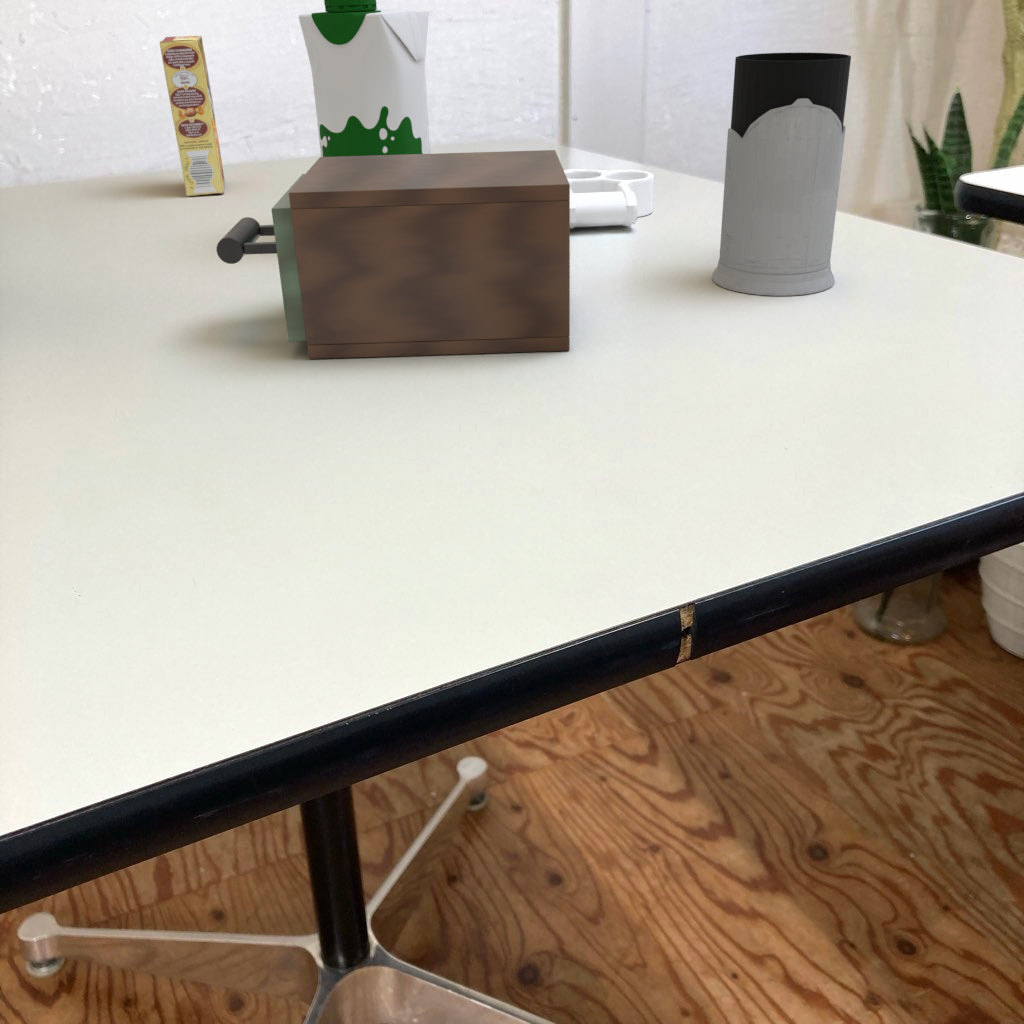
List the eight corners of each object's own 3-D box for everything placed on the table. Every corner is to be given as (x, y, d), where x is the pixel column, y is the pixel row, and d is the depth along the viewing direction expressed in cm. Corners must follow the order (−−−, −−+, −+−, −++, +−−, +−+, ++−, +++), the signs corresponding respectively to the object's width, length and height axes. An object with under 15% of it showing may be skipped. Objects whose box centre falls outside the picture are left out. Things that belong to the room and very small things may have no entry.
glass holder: (722, 297, 72) (739, 63, 66) (693, 249, 85) (704, 48, 78) (849, 294, 72) (878, 59, 65) (800, 246, 85) (821, 45, 78)
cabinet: (308, 359, 63) (288, 192, 58) (334, 300, 74) (319, 156, 70) (569, 351, 63) (569, 184, 59) (556, 293, 74) (555, 149, 70)
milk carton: (313, 245, 90) (283, -15, 80) (368, 223, 97) (347, -18, 88) (401, 253, 86) (381, -18, 77) (452, 230, 94) (439, -20, 84)
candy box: (225, 194, 112) (201, 38, 105) (184, 197, 111) (158, 40, 104) (225, 180, 120) (203, 34, 112) (187, 183, 119) (163, 36, 112)
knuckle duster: (468, 239, 90) (461, 206, 103) (673, 230, 91) (640, 198, 104) (466, 199, 89) (459, 171, 101) (675, 191, 90) (641, 163, 103)
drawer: (218, 344, 63) (197, 210, 59) (255, 292, 73) (239, 175, 70) (529, 334, 63) (527, 200, 59) (522, 283, 73) (520, 167, 70)
